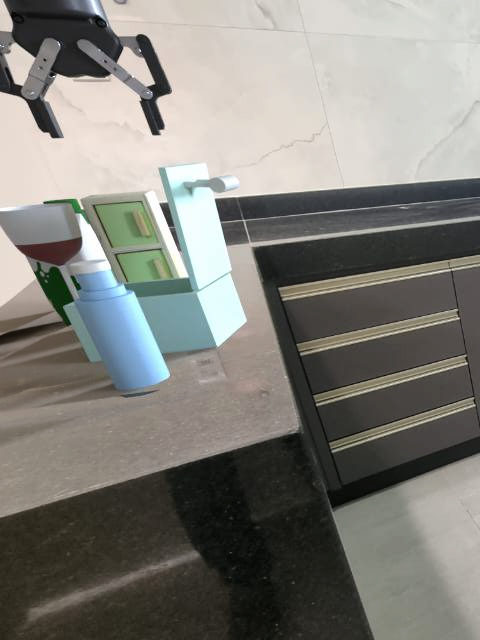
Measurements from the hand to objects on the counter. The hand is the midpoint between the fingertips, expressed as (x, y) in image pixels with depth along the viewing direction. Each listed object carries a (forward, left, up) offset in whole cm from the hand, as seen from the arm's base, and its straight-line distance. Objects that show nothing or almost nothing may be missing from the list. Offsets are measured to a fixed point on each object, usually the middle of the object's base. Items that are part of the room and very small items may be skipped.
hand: (109, 136), depth 61 cm
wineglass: (-24, +23, -29) cm, 44 cm away
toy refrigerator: (-14, +25, -29) cm, 41 cm away
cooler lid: (+1, +10, -12) cm, 15 cm away
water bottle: (-4, -6, -29) cm, 30 cm away
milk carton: (-28, +32, -29) cm, 52 cm away
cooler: (-7, +10, -29) cm, 31 cm away
